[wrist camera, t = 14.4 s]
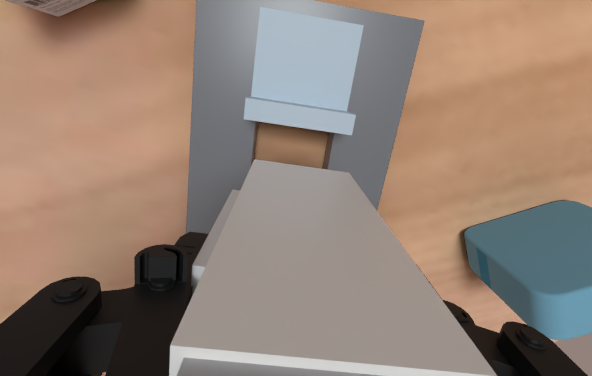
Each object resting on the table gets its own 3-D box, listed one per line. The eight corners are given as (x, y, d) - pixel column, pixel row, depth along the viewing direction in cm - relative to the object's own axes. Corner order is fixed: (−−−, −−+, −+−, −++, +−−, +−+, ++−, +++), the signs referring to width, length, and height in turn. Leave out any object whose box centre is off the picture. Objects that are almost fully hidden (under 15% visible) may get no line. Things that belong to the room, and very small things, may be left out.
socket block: (192, 257, 34) (184, 273, 31) (207, -9, 26) (197, -21, 23) (350, 275, 35) (356, 292, 32) (410, 27, 27) (424, 20, 25)
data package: (463, 263, 35) (547, 346, 24) (457, 229, 34) (544, 301, 23) (568, 232, 34) (708, 303, 23) (566, 196, 33) (714, 253, 22)
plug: (244, 244, 17) (150, 597, 5) (254, 159, 16) (153, 382, 4) (331, 255, 18) (425, 607, 6) (348, 172, 16) (526, 415, 4)
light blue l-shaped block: (250, 114, 26) (243, 119, 22) (260, 9, 24) (255, -7, 20) (341, 128, 27) (351, 135, 23) (361, 27, 24) (376, 15, 20)
